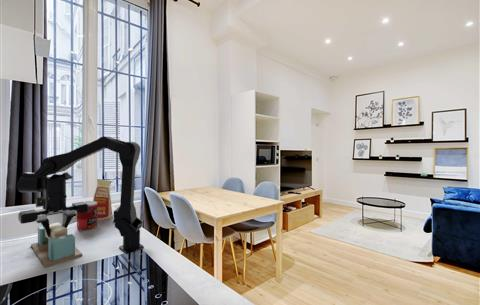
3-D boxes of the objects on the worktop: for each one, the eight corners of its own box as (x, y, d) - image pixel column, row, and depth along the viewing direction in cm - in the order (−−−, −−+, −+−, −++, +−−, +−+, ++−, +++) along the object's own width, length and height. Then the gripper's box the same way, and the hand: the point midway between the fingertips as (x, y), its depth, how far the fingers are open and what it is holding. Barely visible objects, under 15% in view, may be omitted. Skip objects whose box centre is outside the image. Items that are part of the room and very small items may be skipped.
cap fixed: (61, 240, 88) (61, 224, 88) (40, 245, 83) (39, 229, 83) (59, 237, 90) (59, 222, 90) (37, 242, 85) (37, 226, 85)
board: (82, 255, 79) (82, 253, 79) (44, 267, 71) (44, 265, 71) (64, 237, 92) (64, 235, 92) (31, 246, 84) (31, 243, 84)
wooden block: (67, 240, 80) (67, 228, 80) (55, 243, 77) (55, 232, 77) (56, 232, 86) (56, 222, 86) (44, 236, 83) (44, 225, 83)
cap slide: (75, 254, 78) (75, 235, 78) (51, 261, 73) (51, 241, 73) (71, 250, 80) (71, 232, 80) (48, 257, 75) (48, 238, 75)
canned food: (90, 230, 100) (90, 206, 100) (72, 229, 100) (72, 205, 100) (101, 224, 108) (101, 201, 107) (84, 223, 108) (84, 200, 107)
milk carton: (91, 220, 112) (91, 180, 111) (93, 215, 120) (93, 177, 119) (112, 218, 116) (112, 179, 115) (113, 213, 124) (113, 176, 123)
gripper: (79, 185, 93) (79, 222, 94) (15, 192, 78) (16, 236, 79) (89, 189, 86) (89, 230, 87) (21, 198, 71) (21, 246, 72)
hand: (56, 235), depth 81 cm, fingers closed on wooden block, 4 cm apart
